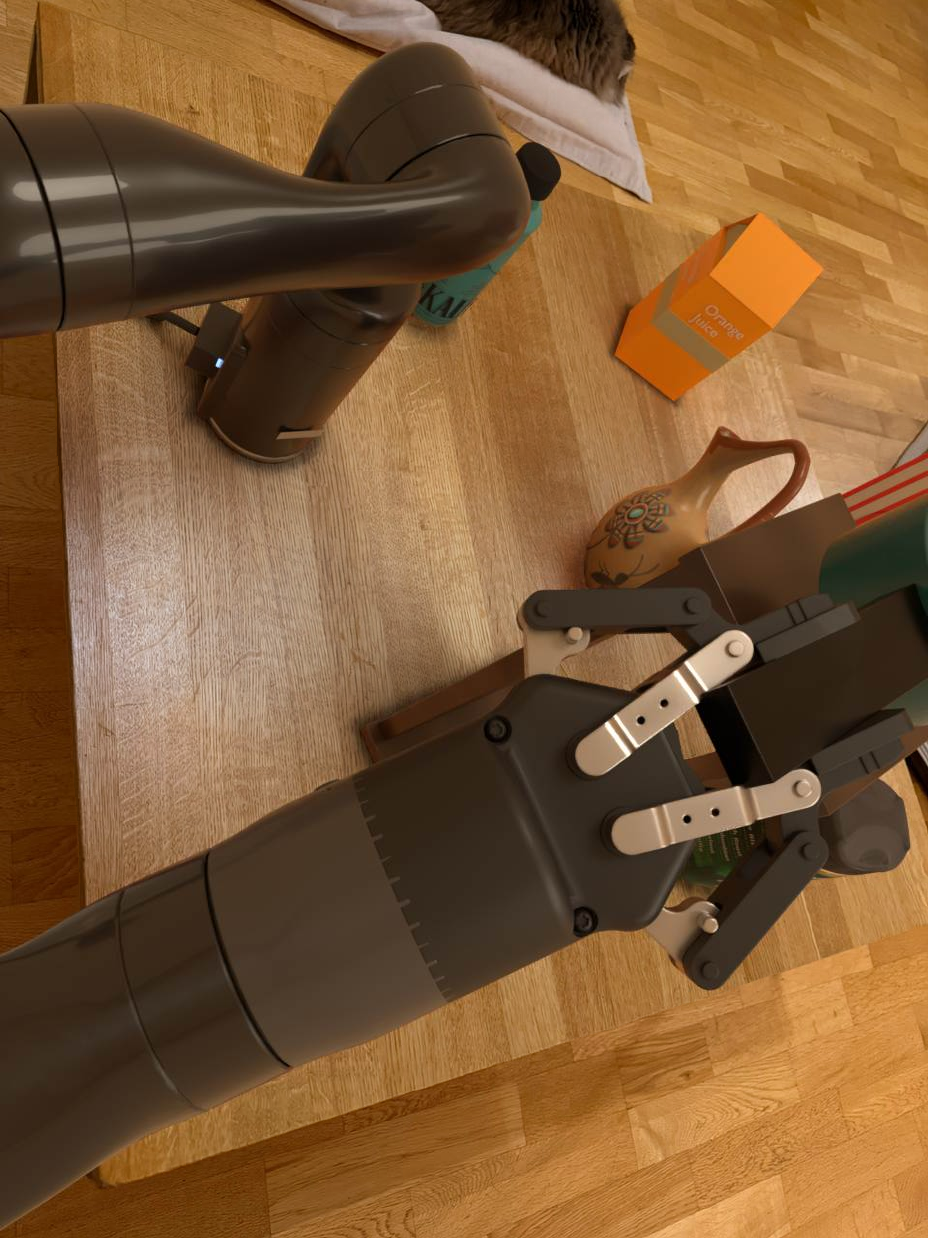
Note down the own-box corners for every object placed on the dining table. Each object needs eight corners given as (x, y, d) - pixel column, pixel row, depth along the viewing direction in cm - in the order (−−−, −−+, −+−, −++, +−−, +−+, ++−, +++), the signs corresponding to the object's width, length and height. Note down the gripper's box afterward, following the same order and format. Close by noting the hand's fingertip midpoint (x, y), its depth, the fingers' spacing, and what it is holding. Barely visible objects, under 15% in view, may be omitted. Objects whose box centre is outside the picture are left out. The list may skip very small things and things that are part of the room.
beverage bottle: (416, 266, 90) (532, 110, 74) (464, 317, 91) (589, 175, 75) (378, 297, 87) (492, 140, 70) (429, 350, 88) (553, 208, 72)
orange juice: (629, 309, 105) (765, 186, 89) (687, 356, 108) (829, 245, 91) (613, 355, 101) (752, 236, 85) (674, 402, 104) (820, 295, 88)
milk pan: (712, 886, 31) (839, 872, 27) (597, 639, 32) (703, 588, 28) (982, 685, 43) (1099, 654, 39) (893, 510, 44) (998, 461, 40)
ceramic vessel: (627, 670, 88) (850, 577, 67) (549, 633, 84) (759, 523, 64) (646, 526, 95) (852, 403, 75) (575, 486, 92) (770, 347, 72)
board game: (715, 555, 99) (950, 434, 77) (756, 562, 102) (994, 448, 80) (749, 747, 93) (1017, 674, 71) (792, 748, 96) (1062, 679, 74)
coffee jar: (667, 888, 82) (843, 868, 67) (660, 797, 85) (828, 758, 70) (747, 893, 86) (929, 875, 71) (738, 807, 89) (911, 771, 74)
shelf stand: (428, 886, 70) (829, 816, 41) (359, 727, 72) (699, 546, 42) (575, 802, 80) (990, 694, 50) (512, 663, 81) (879, 476, 51)
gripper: (496, 1160, 25) (1048, 880, 27) (287, 673, 26) (826, 438, 28) (476, 1064, 32) (909, 850, 34) (314, 688, 34) (738, 502, 35)
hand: (869, 665), depth 31 cm, fingers closed on milk pan, 3 cm apart
